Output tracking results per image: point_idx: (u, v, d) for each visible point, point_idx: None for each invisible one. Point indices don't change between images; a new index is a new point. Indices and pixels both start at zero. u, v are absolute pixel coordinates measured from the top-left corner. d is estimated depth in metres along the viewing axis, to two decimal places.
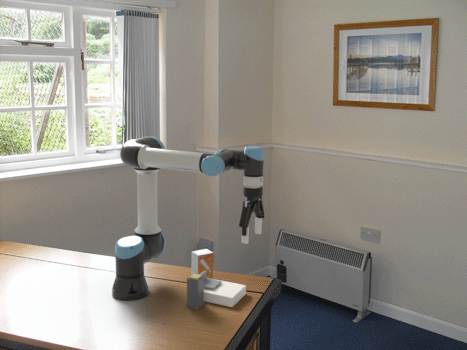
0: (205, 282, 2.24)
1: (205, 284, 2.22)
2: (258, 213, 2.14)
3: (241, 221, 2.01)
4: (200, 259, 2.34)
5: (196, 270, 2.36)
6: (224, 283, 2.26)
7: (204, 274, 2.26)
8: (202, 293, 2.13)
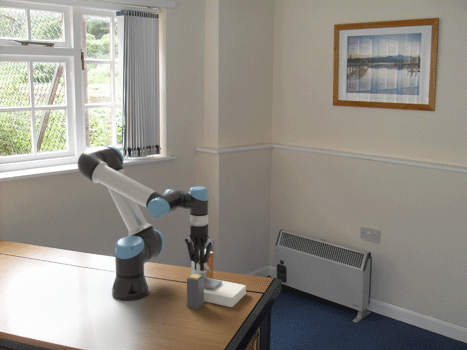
0: (205, 282, 2.24)
1: (205, 284, 2.22)
2: None
3: None
4: None
5: None
6: (224, 283, 2.26)
7: (204, 274, 2.26)
8: (202, 293, 2.13)
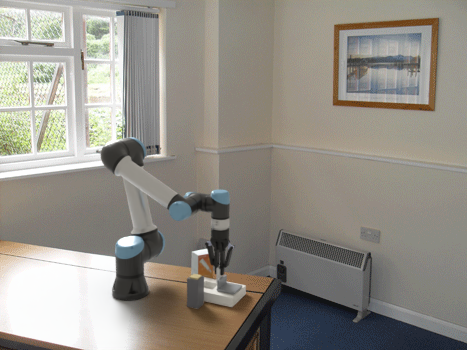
0: (226, 286, 2.20)
1: (226, 288, 2.18)
2: None
3: None
4: (200, 259, 2.34)
5: (196, 270, 2.36)
6: None
7: (224, 278, 2.22)
8: (202, 293, 2.13)
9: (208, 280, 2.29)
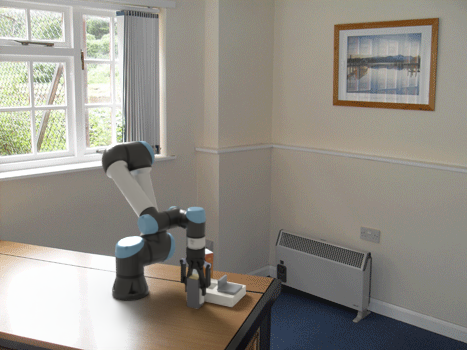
0: (226, 286, 2.20)
1: (226, 288, 2.18)
2: None
3: None
4: None
5: (196, 270, 2.36)
6: None
7: (225, 278, 2.22)
8: None
9: None
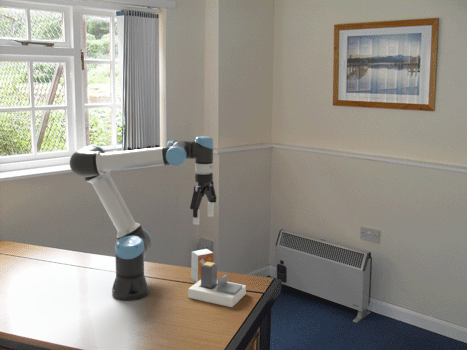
0: (226, 286, 2.20)
1: (226, 288, 2.18)
2: (210, 198, 2.34)
3: (192, 204, 2.21)
4: (200, 259, 2.34)
5: (196, 270, 2.36)
6: None
7: (225, 278, 2.22)
8: None
9: None
